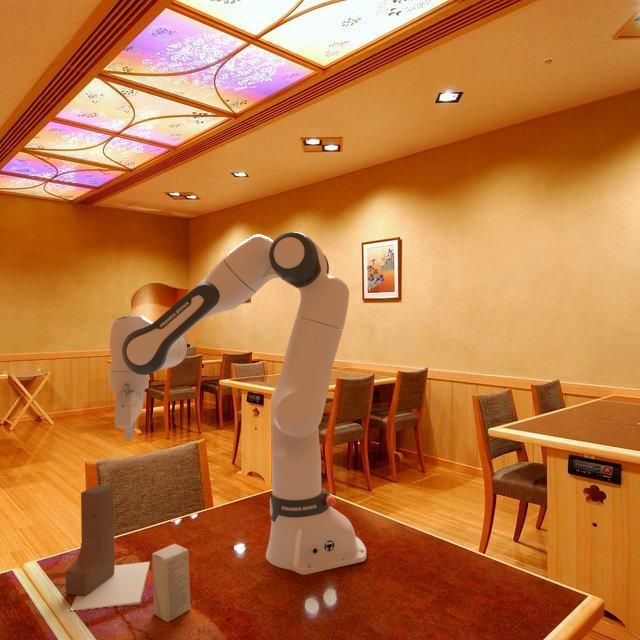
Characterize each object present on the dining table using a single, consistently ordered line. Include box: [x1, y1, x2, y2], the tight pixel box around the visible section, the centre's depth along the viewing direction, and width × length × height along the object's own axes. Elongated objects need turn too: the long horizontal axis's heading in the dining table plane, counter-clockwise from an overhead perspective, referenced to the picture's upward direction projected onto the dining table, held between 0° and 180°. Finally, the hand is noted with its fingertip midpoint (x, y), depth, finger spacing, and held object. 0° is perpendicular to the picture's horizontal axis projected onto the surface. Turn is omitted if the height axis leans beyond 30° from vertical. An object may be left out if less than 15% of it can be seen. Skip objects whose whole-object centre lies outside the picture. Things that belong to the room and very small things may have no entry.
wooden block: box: [64, 485, 115, 596], centre depth 100 cm, size 9×4×18 cm, turn 166°
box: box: [151, 543, 191, 623], centre depth 91 cm, size 5×4×11 cm
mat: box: [70, 561, 151, 612], centre depth 100 cm, size 12×16×1 cm
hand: (129, 438), depth 124 cm, fingers closed
